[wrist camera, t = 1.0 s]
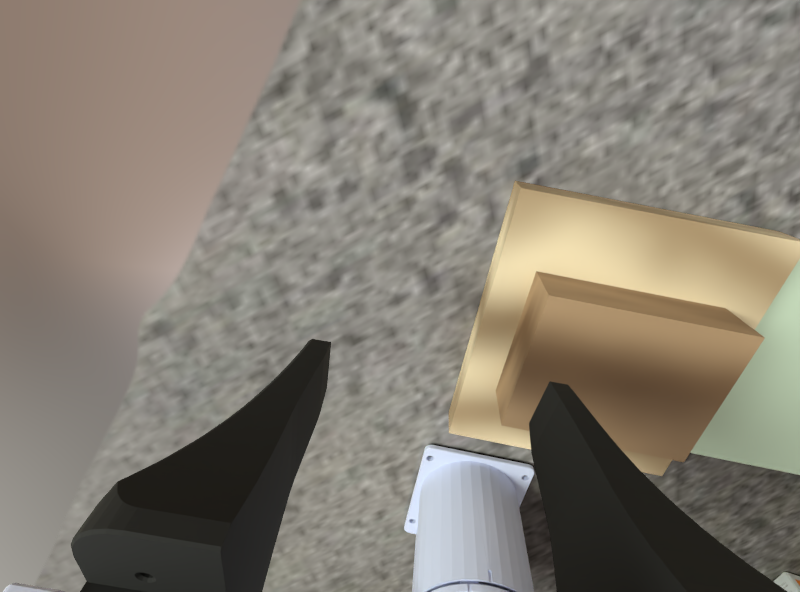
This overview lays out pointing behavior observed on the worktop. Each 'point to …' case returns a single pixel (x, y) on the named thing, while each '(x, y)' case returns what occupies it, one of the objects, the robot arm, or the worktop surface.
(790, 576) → the skincare box
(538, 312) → the walnut tile
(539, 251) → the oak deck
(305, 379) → the robot arm
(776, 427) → the sage mat
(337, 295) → the worktop surface
